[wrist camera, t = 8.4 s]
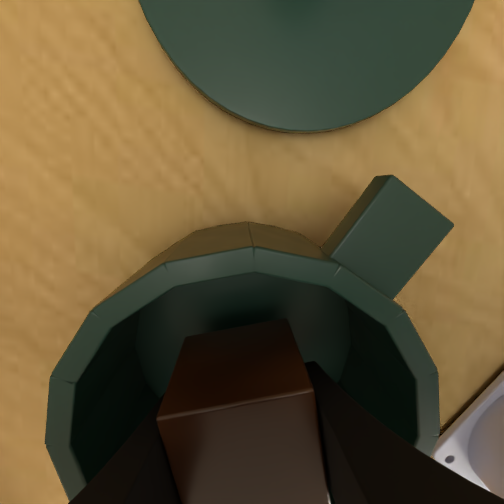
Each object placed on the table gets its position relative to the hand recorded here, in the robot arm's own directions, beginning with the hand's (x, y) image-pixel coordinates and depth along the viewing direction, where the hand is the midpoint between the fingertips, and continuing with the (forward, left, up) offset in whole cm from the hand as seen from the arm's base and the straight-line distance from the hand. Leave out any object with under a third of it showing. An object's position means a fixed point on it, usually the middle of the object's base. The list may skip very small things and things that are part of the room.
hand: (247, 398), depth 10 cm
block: (0, 0, -1) cm, 1 cm away
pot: (0, 0, -4) cm, 4 cm away
